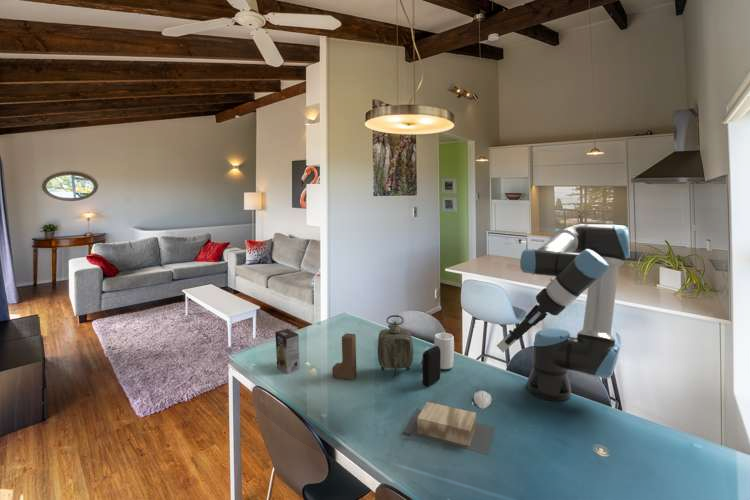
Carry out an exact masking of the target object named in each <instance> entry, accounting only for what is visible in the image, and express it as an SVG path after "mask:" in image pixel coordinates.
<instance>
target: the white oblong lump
mask: <svg viewBox="0 0 750 500" xmlns="http://www.w3.org/2000/svg"><path fill="white" fill-rule="evenodd" d="M473 401H474V403H475V404H476V406H477V407H478V408H480V409H483V410H484V409H486V408H487V409H488V407H489V406H490V405H491V403H492V396H491V394H490V392H488V391H485V390H478V391H475V393H474V394H473Z"/></svg>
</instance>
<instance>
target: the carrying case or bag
mask: <svg viewBox="0 0 750 500" xmlns="http://www.w3.org/2000/svg"><path fill="white" fill-rule="evenodd" d="M440 359H441V352H440V348H439V347H438V346H434V345H433V347H431V348H428V349H426V350H425V351H424V352H423V353H422V358H421V365H422V384H423V386H424V387H427V388H428V387H429V386H430V385H433V384H434V383H436V382H438V381H439V380H440V379H441V369H440Z"/></svg>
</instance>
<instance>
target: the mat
mask: <svg viewBox="0 0 750 500" xmlns="http://www.w3.org/2000/svg"><path fill="white" fill-rule="evenodd" d="M422 410H423V409H420V408H416V409H415V411H414V413H413V414H412V415H411V418H410V419H409V421H408V423H407V424H406V426H405V428H403V430H402V435H405V436H416V437H419V438H424V439H428V440H430V441H435V442H438V443H442V444H446V445H450V446H454V447H457V448H461V449H465V450H468V451H472V452H476V453H479V454H483V455H487V456H488V455H489V453H490V449H491V445H492V442H493V437H494V434H495V429H496V426H492V425H486V424H483V423H479V422H476V428H475V431H474V434H473V437H472V440H471V443H470V446H466V445H462V444H459V443H455V442H451V441H447V440H443V439H440V438H436V437H432V436H428V435H424V434H420V433H417V418H418V416H419V415H420V413H421V411H422Z"/></svg>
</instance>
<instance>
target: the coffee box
mask: <svg viewBox="0 0 750 500" xmlns="http://www.w3.org/2000/svg"><path fill="white" fill-rule="evenodd" d="M274 332H275V334H274V335H275V347H276V351H275V352H276V367H277V368H278V369H279V370H281V371H282V372H284V373H285V374H287V375H289V374H292V373H294V372H297V371H300V370H301V369H300V368H301V367H300V366H301V365H300V341H299V338H300V337H299V336H300V335H299V333H298V332H295V331H293V330H291V329H290V328H286V329H281V330H277V331H274Z"/></svg>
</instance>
